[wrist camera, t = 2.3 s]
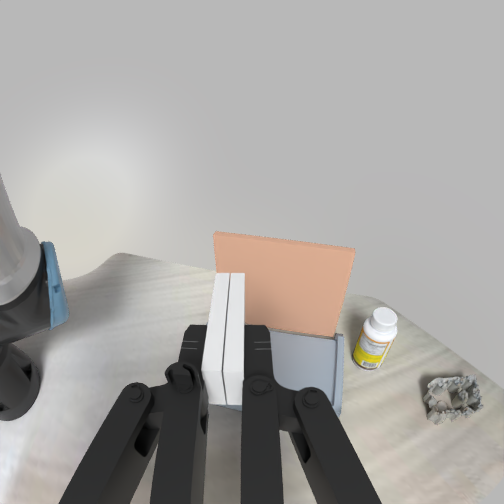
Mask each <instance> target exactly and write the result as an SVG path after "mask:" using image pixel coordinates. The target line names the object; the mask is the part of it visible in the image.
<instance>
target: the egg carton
mask: <svg viewBox="0 0 504 504" xmlns="http://www.w3.org/2000/svg"><path fill="white" fill-rule="evenodd" d="M460 387H462V390H461V391H460V392H459V393H458V394H457V395H456V396H455V398H454V399H453V400H452V406H453V407H454V408H455V409H458V410H457V411H456V410H455V409H450V410H446V409H447V404H446V403H445V402H444V401H439V402H438V403H437V401H436V399H435V398H434V397H433V396H431V395H429V392H430V391H432V392H433V394H434V395H437V396H439V395H441V394H442V393H443V392H444V391H445V389H448V391H449V392H450V393H456V392H457V390H458V389H459V388H460ZM428 388H429V390H428V391H427V394H426V395H425V396H424V397H423V402H424V403H427V404H429V408H431V411H430V412H429V413H428V414H427V420H430V421H432V422H433V423H434V424H435V425H438V424H441V423H443V421H444V420H445V419H446V418H449V419H450V420H451V422H452V421H454V420H456V419H458V418H460V416H461V415H464V416H465V417H466V418H469V417H471V415H472V414H473V413H475V412H478V411H479V410H480V409H482V408H483V405H481V398H482V396H480V390H479V387H478V385H477V384H476V375H475V374H474V375H470V376H466V377H463V376H462V377H460V378H459V377H458V376H456V377H449V378H436V379H434V380H433V381H431V382H430V383H429V384H428ZM466 391H468V392H466ZM468 394H469V395H468ZM465 403H467V404H468V405H469V406H472V407H473V410H472V409H471V408H469V407H468V406H466V407H465V408H464V409H463V410H462V411H460V410H459V408H461V407H462V406H463V405H464V404H465Z"/></svg>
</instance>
